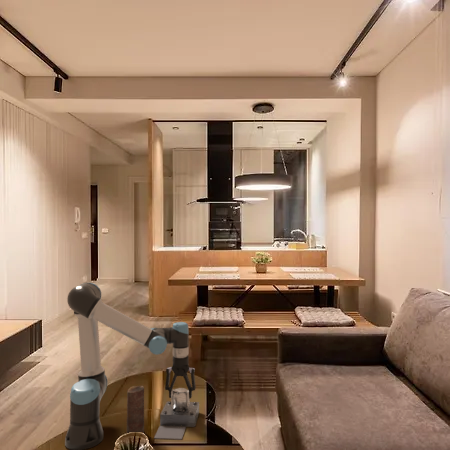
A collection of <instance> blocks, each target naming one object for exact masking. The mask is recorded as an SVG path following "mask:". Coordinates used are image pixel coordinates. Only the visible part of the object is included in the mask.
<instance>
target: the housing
mask: <svg viewBox="0 0 450 450" xmlns="http://www.w3.org/2000/svg"><path fill="white" fill-rule="evenodd" d="M199 414H200V401H190V404H189V406H188V408H187V409H186V411H175V410H174V409H173V406H171V400H170V401H169V400H168V401H166V403H165V404H164V406H163V409H162V410H161V411H160V415H159V418H160V419H159V424H160V425H159V426H173V427H186V428H187V427H189V428H192V427H193V428H195V427H196V424H197V421H198V417H199Z"/></svg>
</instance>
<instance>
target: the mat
mask: <svg viewBox="0 0 450 450" xmlns="http://www.w3.org/2000/svg"><path fill="white" fill-rule="evenodd" d="M186 428H187V427H181V426H160V425H159V426H158V429H157V431H156V433H155V434H154V437H153V440H177V441H182V440H183V437H184V434H185V431H186Z"/></svg>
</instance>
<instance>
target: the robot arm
mask: <svg viewBox="0 0 450 450" xmlns="http://www.w3.org/2000/svg"><path fill="white" fill-rule="evenodd" d="M66 299H67V305H68V307H69V309H71V310H72V311H73V315H74V316H75V317H77V324H78V337H79V338H78V341H79V357H80V371H79V372H78V373H77V378H78V379H77V380H78V381H77V382H75V383H74V384H72V387H71V389H70V393H69V399H70V402H69V406H70V407H69V408H70V409H69V426H68V428H67V431H66V435H65V438H64V446H65V447H66V448H67V449H68V450H88V449H91V448H94V447H96V446H97V445H99V444H100V443H101V442H103V440H104V430H103V426H102V423H101V419H100V403H101V400H102V398H103V396H104V395H105V392H106V391H107V389H108V388H107V387H108V377H107V375H106V371H105V369H106V368H104V366H102V363H101V349H100V348H101V347H100V334H99V323H100V324H103V325H104V326H106V327H108V328H110V329H112V330H114V331H116V332H118V333H120V334H121V335H123V336H124V337H126V338H129V339H131V340H133V341H135V342H137V343H138V344H140V345H142V346H143V347H146V348H147V349H149V351H150V353H151V354H153V355H162V354H163V353H164V352H165V351H166V349H167V348H168V347H167V346H168V345H172V365H171V366H170V367H167V368H166V369H165V373H166V378H165V379H166V380H165V387H164V390H165V391H168V398H169V399H170V401H171V406H173V390H174V385H175V383H176V380H177V378H178V377H183V379H184V382H185V384H186V387H187V390H188V391H187V406H189V404H190V402H191V401H190V399H192V397H193V392H195V391H196V388H197V386H196V378H195V370H196V368H195V367H190V364H189V353H190V352H189V344H190V343H189V341H190V340H189V332H190V331H189V324H188V323H187V322H185V321H184V322H183V321H177V322H174V323H173V324H172V326H171V327H148V326H146V325H145V324H143V323H141V322H139V321H138V320H136V319H134V318H133V317H130V316H128V315H127V314H124V313H123V312H122V311H119V310H117V309H115V308H114V307H112V306H110V305H108V304H106V303H105V302H103V299H102V290H101V288H100V287H99V286H98V284H96V283H94V282H93V283H92V282H83V283H80V284H79V285H77V286H75V287H73V288H71V290H70V291H69V292H68V294H67V298H66ZM171 372H173V374H174V375H173V378H172V381H171V383H170V379H171ZM188 372H189V373H190V379H191V380H190V379H189V376H188V375H189V374H188ZM190 381H191V382H190Z"/></svg>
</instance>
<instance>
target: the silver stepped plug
mask: <svg viewBox="0 0 450 450" xmlns="http://www.w3.org/2000/svg"><path fill="white" fill-rule="evenodd" d="M172 390H173V409H174V410H175V411H186V409H187V408H188V406H187V391H188V388H184V387H178V388H175V389H172Z"/></svg>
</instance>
